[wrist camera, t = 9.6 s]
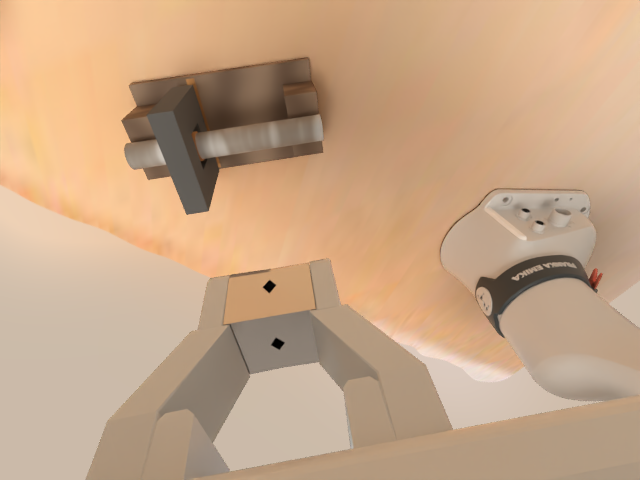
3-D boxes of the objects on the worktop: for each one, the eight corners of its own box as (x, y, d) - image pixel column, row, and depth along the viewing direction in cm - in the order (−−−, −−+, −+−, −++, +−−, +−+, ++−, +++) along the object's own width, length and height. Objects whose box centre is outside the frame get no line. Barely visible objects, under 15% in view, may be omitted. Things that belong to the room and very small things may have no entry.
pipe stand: (307, 57, 36) (317, 73, 29) (318, 149, 42) (328, 180, 35) (131, 83, 35) (99, 105, 28) (168, 173, 41) (149, 209, 34)
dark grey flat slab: (193, 84, 33) (172, 110, 26) (219, 169, 39) (208, 211, 32) (172, 87, 33) (146, 114, 26) (201, 172, 39) (186, 214, 32)
